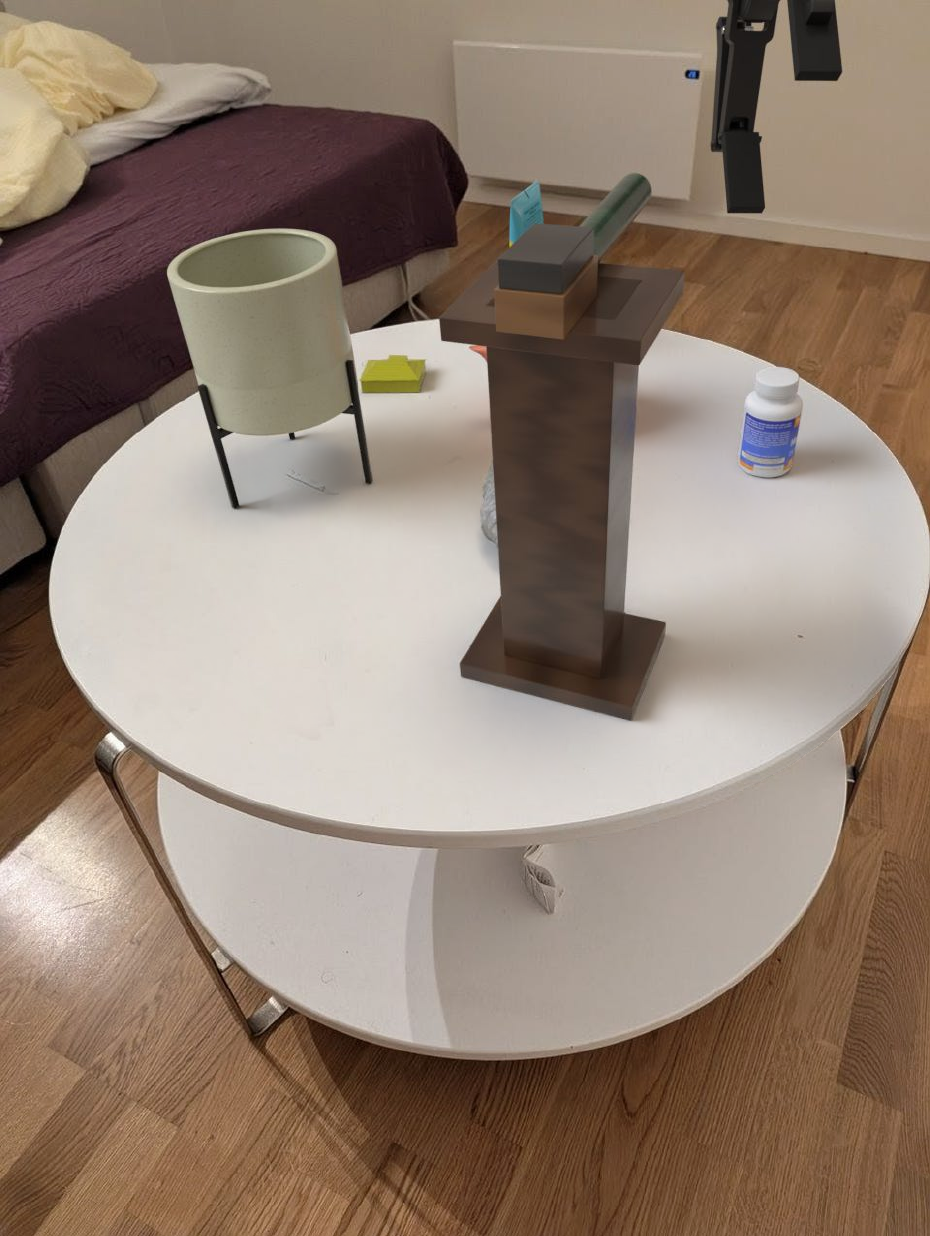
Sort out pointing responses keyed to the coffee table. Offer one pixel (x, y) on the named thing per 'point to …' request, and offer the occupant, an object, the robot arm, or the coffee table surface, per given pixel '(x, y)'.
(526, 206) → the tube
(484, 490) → the seashell
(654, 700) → the coffee table surface
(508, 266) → the brush
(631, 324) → the stand
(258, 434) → the planter
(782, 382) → the pill bottle
